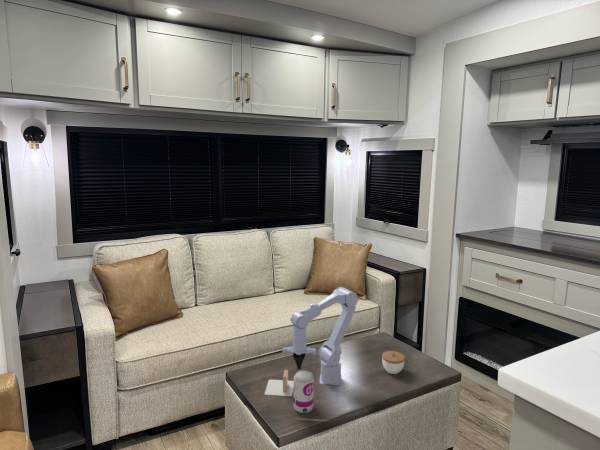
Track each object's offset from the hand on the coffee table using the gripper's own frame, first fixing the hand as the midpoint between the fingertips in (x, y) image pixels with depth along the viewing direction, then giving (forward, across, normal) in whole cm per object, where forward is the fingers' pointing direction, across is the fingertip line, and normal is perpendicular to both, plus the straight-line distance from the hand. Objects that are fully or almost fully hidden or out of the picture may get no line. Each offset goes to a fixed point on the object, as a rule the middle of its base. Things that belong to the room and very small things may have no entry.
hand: (299, 368), depth 180 cm
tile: (+10, -6, 0) cm, 11 cm away
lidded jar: (+11, +44, +21) cm, 50 cm away
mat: (+10, -8, 0) cm, 13 cm away
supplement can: (+11, +3, -13) cm, 17 cm away
